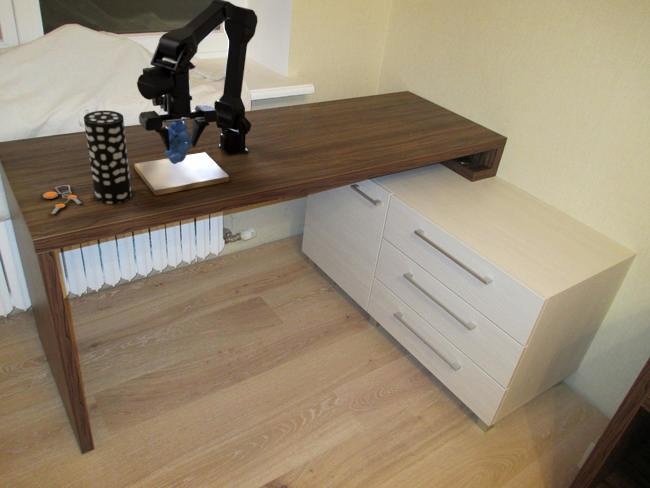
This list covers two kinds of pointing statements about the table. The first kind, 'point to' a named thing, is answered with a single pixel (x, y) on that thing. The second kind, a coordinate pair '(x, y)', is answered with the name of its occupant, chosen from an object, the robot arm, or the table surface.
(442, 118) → the table surface
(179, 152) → the grapes
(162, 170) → the board
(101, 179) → the spotted tube
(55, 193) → the key chain
